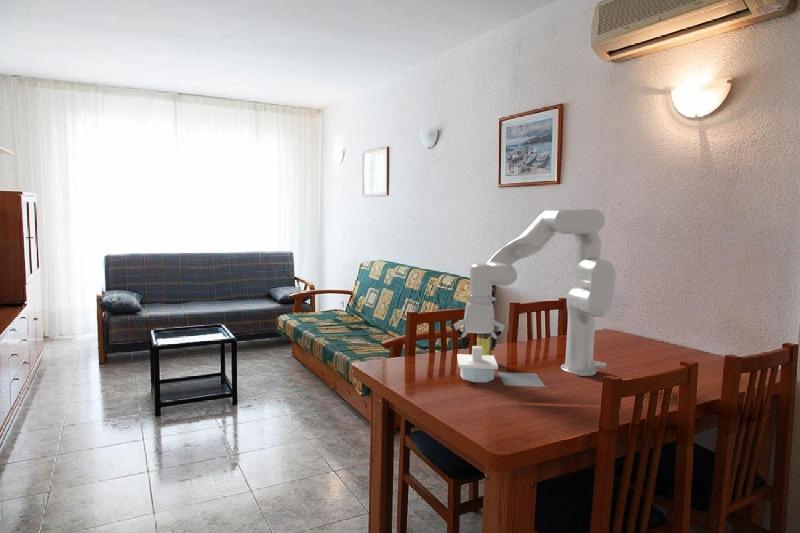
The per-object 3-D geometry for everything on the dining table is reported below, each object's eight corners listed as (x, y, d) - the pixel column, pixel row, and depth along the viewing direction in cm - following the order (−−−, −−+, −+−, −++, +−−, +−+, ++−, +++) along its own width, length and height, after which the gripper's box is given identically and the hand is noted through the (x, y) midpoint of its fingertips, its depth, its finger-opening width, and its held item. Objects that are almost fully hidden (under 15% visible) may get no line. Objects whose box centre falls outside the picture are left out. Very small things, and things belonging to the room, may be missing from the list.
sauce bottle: (492, 367, 198) (494, 315, 195) (475, 366, 199) (477, 314, 197) (492, 362, 204) (495, 311, 202) (476, 361, 205) (478, 310, 203)
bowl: (487, 374, 189) (488, 358, 189) (496, 384, 179) (497, 367, 178) (458, 374, 188) (458, 358, 188) (464, 384, 178) (465, 367, 177)
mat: (535, 375, 189) (536, 373, 189) (545, 389, 175) (545, 386, 175) (497, 374, 189) (497, 372, 189) (504, 387, 175) (504, 385, 175)
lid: (493, 358, 189) (494, 343, 188) (497, 369, 176) (498, 353, 175) (457, 356, 190) (457, 341, 189) (458, 367, 177) (459, 351, 176)
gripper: (503, 298, 184) (501, 346, 186) (453, 297, 184) (452, 345, 186) (507, 302, 177) (505, 352, 178) (455, 301, 177) (453, 350, 179)
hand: (478, 348), depth 182 cm, fingers open, 9 cm apart
